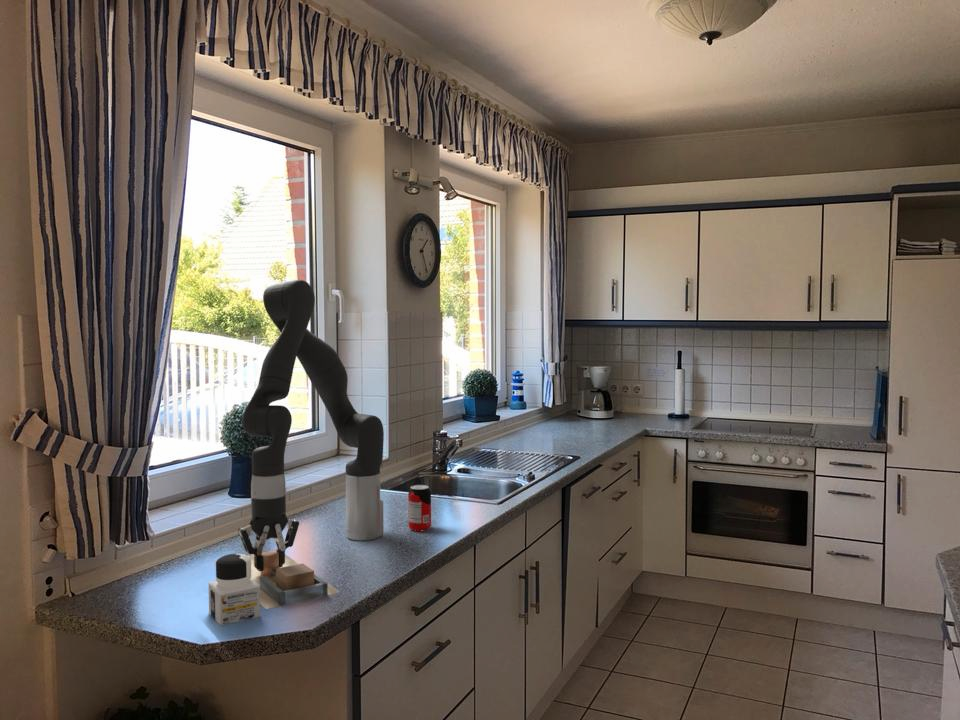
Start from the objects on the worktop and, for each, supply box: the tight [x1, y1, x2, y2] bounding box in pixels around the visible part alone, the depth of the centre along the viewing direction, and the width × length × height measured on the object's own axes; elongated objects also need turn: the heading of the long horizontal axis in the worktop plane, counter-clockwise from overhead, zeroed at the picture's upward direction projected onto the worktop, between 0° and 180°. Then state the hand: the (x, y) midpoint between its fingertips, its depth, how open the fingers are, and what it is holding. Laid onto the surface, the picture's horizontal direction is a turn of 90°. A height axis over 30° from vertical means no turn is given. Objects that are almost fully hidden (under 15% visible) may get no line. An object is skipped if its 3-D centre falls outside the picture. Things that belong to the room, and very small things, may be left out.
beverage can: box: [407, 484, 432, 532], centre depth 214 cm, size 6×6×12 cm
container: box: [208, 553, 261, 626], centre depth 149 cm, size 8×8×13 cm
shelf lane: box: [213, 549, 341, 610], centre depth 171 cm, size 16×36×4 cm, turn 35°
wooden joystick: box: [261, 550, 315, 591], centre depth 166 cm, size 6×20×5 cm, turn 35°
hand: (269, 568), depth 172 cm, fingers closed on wooden joystick, 4 cm apart
